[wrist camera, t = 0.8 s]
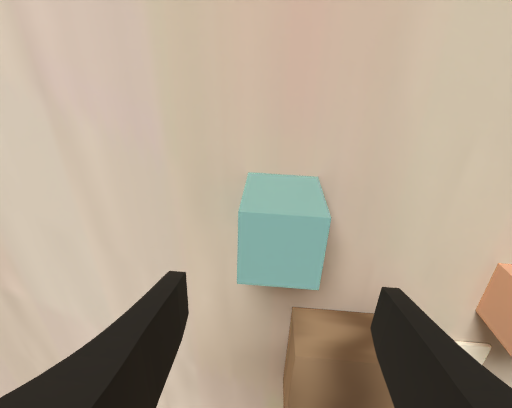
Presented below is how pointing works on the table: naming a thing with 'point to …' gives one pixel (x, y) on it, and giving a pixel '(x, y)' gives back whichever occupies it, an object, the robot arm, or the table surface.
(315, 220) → the teal block
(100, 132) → the table surface
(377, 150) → the table surface
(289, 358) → the walnut block
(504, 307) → the terracotta block
